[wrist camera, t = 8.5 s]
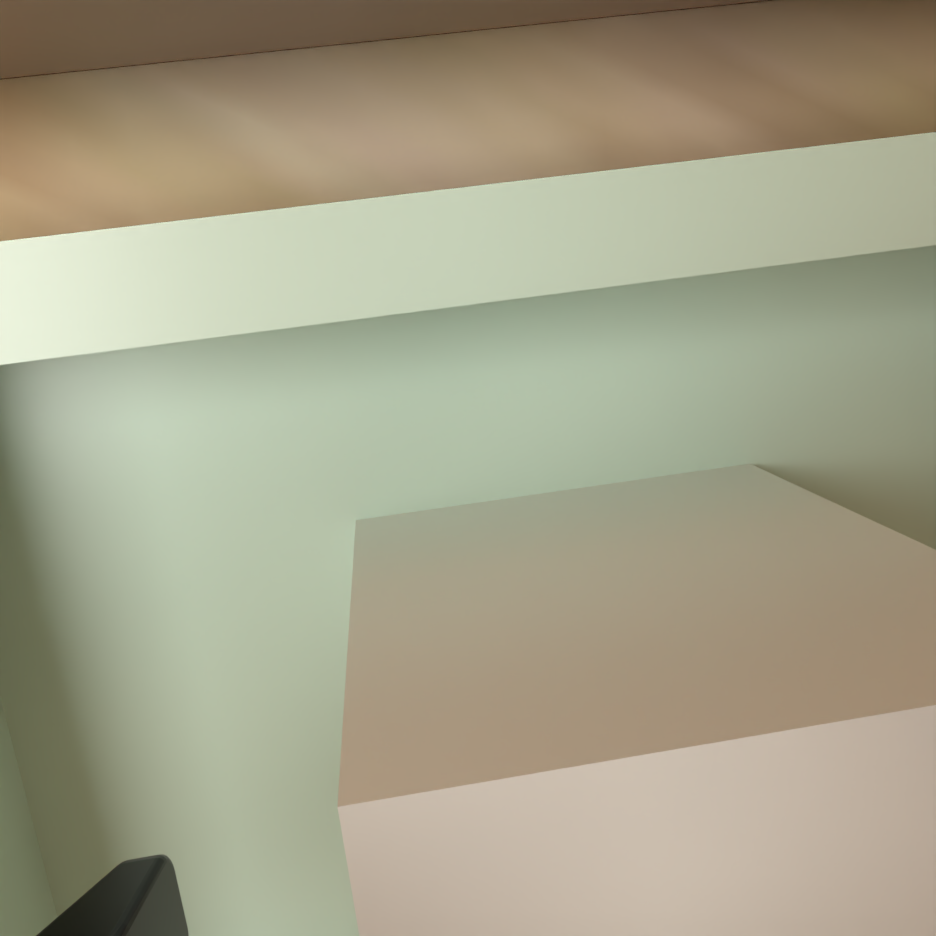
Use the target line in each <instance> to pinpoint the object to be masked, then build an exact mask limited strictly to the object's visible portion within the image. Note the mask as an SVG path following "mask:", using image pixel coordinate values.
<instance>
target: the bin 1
mask: <svg viewBox="0 0 936 936" xmlns="http://www.w3.org/2000/svg"><path fill="white" fill-rule="evenodd" d="M756 1H766V0H0V79H3V78H13V77H23V76H32V75H42V74H52V73H62V72H71V71H81V70H91V69H101V68H111V67H120V66H130V65H140V64H150V63H159V62H169V61H179V60H189V59H199V58H208V57H218V56H228V55H238V54H247V53H257V52H267V51H277V50H287V49H296V48H306V47H316V46H326V45H335V44H345V43H355V42H365V41H375V40H384V39H394V38H404V37H414V36H423V35H433V34H443V33H453V32H463V31H472V30H482V29H492V28H502V27H511V26H521V25H531V24H541V23H551V22H560V21H570V20H580V19H590V18H600V17H609V16H619V15H629V14H639V13H648V12H658V11H668V10H678V9H688V8H697V7H707V6H717V5H727V4H736V3H746V2H756Z"/></svg>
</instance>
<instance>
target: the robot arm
mask: <svg viewBox="0 0 936 936" xmlns="http://www.w3.org/2000/svg"><path fill="white" fill-rule="evenodd" d="M36 936H189V933H188V927H187V922H186V918H185V913H184V909H183V904H182V900H181V896H180V891H179V887H178V882H177V878H176V873H175V869H174V866H173V863H172V861H171V860H170V858H169V857H168V856H166V855H164V854H158V855H153V856H147V857H141V858H135V859H130V860H126V861H123V862H121V863H120V864H119V865H117V866H116V867H115V868H114V869H113V870H111V871H110V872H109V873H108V874H107V875H106V876H104V877H103V878H102V879H101V880H100V881H99V882H98V883H96V884H95V885H94V886H93V887H92V888H91V889H89V890H88V891H87V892H86V893H85V894H84V895H82V896H81V897H80V898H79V899H78V900H77V901H76V902H74V903H73V904H72V905H71V906H70V907H69V908H67V909H66V910H65V911H64V912H63V913H62V914H60V915H59V916H58V917H57V918H56V919H55V920H54V921H52V922H51V923H50V924H49V925H48V926H47V927H45V928H44V929H43V930H42V931H41V932H40V933H38V934H37V935H36Z"/></svg>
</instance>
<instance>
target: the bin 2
mask: <svg viewBox="0 0 936 936" xmlns="http://www.w3.org/2000/svg"><path fill="white" fill-rule="evenodd" d="M744 464H752V465H754V466H756V467H758V468H760V469H763V470H765V471H767V472H769V473H771V474H773V475H775V476H778V477H780V478H782V479H784V480H786V481H788V482H791V483H793V484H795V485H797V486H799V487H801V488H803V489H806V490H808V491H810V492H812V493H814V494H816V495H819V496H821V497H823V498H825V499H827V500H829V501H832V502H834V503H836V504H838V505H840V506H842V507H844V508H847V509H849V510H851V511H853V512H855V513H857V514H860V515H862V516H864V517H866V518H868V519H870V520H872V521H875V522H877V523H879V524H881V525H883V526H885V527H888V528H890V529H892V530H894V531H896V532H898V533H900V534H903V535H905V536H907V537H909V538H911V539H913V540H916V541H918V542H920V543H922V544H924V545H926V546H928V547H931V548H933V549H935V550H936V132H931V133H923V134H914V135H906V136H897V137H889V138H880V139H871V140H863V141H854V142H846V143H837V144H829V145H820V146H812V147H803V148H795V149H786V150H777V151H769V152H760V153H752V154H743V155H735V156H726V157H718V158H709V159H701V160H692V161H683V162H675V163H666V164H658V165H649V166H641V167H632V168H624V169H615V170H607V171H598V172H589V173H581V174H572V175H564V176H555V177H547V178H538V179H530V180H521V181H513V182H504V183H495V184H487V185H478V186H470V187H461V188H453V189H444V190H436V191H427V192H419V193H410V194H401V195H393V196H384V197H376V198H367V199H359V200H350V201H342V202H333V203H325V204H316V205H307V206H299V207H290V208H282V209H273V210H265V211H256V212H248V213H239V214H231V215H222V216H213V217H205V218H196V219H188V220H179V221H171V222H162V223H154V224H145V225H137V226H128V227H119V228H111V229H102V230H94V231H85V232H77V233H68V234H60V235H51V236H43V237H34V238H25V239H17V240H8V241H0V936H36V935H37V934H38V933H40V932H41V931H42V930H43V929H44V928H45V927H47V926H48V925H49V924H50V923H51V922H52V921H54V920H55V919H56V918H57V917H58V916H59V915H60V914H62V913H63V912H64V911H65V910H66V909H67V908H69V907H70V906H71V905H72V904H73V903H74V902H76V901H77V900H78V899H79V898H80V897H81V896H82V895H84V894H85V893H86V892H87V891H88V890H89V889H91V888H92V887H93V886H94V885H95V884H96V883H98V882H99V881H100V880H101V879H102V878H103V877H104V876H106V875H107V874H108V873H109V872H110V871H111V870H113V869H114V868H115V867H116V866H117V865H119V864H120V863H121V862H123V861H126V860H130V859H135V858H141V857H147V856H153V855H158V854H164V855H166V856H168V857H169V858H170V860H171V861H172V863H173V866H174V869H175V873H176V878H177V882H178V887H179V891H180V896H181V900H182V904H183V909H184V913H185V918H186V922H187V927H188V933H189V936H359V931H358V925H357V919H356V913H355V907H354V902H353V896H352V890H351V884H350V878H349V872H348V866H347V860H346V854H345V849H344V843H343V837H342V831H341V825H340V819H339V813H338V807H337V806H338V790H339V775H340V759H341V743H342V728H343V712H344V697H345V681H346V665H347V650H348V634H349V618H350V603H351V587H352V572H353V556H354V540H355V525H356V520H361V519H368V518H375V517H382V516H389V515H396V514H403V513H409V512H416V511H423V510H430V509H437V508H444V507H451V506H458V505H465V504H472V503H479V502H486V501H493V500H500V499H507V498H514V497H521V496H528V495H535V494H542V493H549V492H556V491H563V490H570V489H577V488H584V487H591V486H598V485H604V484H611V483H618V482H625V481H632V480H639V479H646V478H653V477H660V476H667V475H674V474H681V473H688V472H695V471H702V470H709V469H716V468H723V467H730V466H737V465H744Z"/></svg>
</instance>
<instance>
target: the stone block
mask: <svg viewBox="0 0 936 936" xmlns="http://www.w3.org/2000/svg"><path fill="white" fill-rule="evenodd" d="M337 807H338V813H339V819H340V825H341V831H342V837H343V843H344V849H345V854H346V860H347V866H348V872H349V878H350V884H351V890H352V896H353V902H354V907H355V913H356V919H357V925H358V931H359V936H936V550H935V549H933V548H931V547H928V546H926V545H924V544H922V543H920V542H918V541H916V540H913V539H911V538H909V537H907V536H905V535H903V534H900V533H898V532H896V531H894V530H892V529H890V528H888V527H885V526H883V525H881V524H879V523H877V522H875V521H872V520H870V519H868V518H866V517H864V516H862V515H860V514H857V513H855V512H853V511H851V510H849V509H847V508H844V507H842V506H840V505H838V504H836V503H834V502H832V501H829V500H827V499H825V498H823V497H821V496H819V495H816V494H814V493H812V492H810V491H808V490H806V489H803V488H801V487H799V486H797V485H795V484H793V483H791V482H788V481H786V480H784V479H782V478H780V477H778V476H775V475H773V474H771V473H769V472H767V471H765V470H763V469H760V468H758V467H756V466H754V465H752V464H744V465H737V466H730V467H723V468H716V469H709V470H702V471H695V472H688V473H681V474H674V475H667V476H660V477H653V478H646V479H639V480H632V481H625V482H618V483H611V484H604V485H598V486H591V487H584V488H577V489H570V490H563V491H556V492H549V493H542V494H535V495H528V496H521V497H514V498H507V499H500V500H493V501H486V502H479V503H472V504H465V505H458V506H451V507H444V508H437V509H430V510H423V511H416V512H409V513H403V514H396V515H389V516H382V517H375V518H368V519H361V520H356V525H355V540H354V556H353V572H352V587H351V603H350V618H349V634H348V650H347V665H346V681H345V697H344V712H343V728H342V743H341V759H340V775H339V790H338V806H337Z"/></svg>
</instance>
